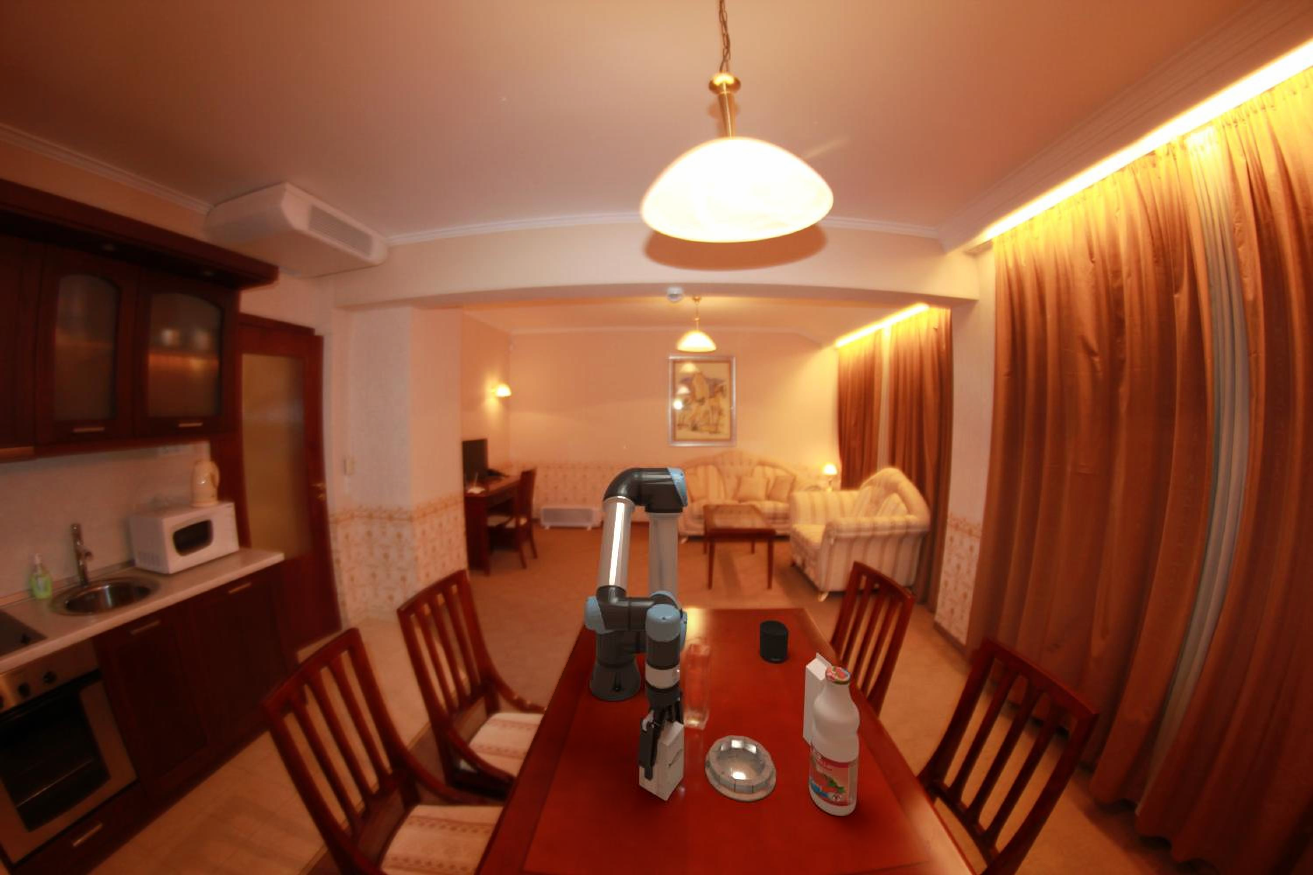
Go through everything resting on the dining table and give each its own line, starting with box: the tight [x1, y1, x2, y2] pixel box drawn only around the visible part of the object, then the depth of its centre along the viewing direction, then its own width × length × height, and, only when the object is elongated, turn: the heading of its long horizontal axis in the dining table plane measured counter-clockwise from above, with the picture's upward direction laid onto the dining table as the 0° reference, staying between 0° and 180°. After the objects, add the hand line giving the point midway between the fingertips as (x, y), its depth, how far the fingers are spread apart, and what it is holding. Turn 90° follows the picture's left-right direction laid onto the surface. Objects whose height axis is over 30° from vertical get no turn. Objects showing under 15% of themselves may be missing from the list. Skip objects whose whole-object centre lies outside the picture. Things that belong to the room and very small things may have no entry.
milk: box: [802, 652, 833, 747], centre depth 109 cm, size 6×6×22 cm
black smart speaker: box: [759, 619, 790, 664], centre depth 147 cm, size 9×9×10 cm
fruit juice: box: [808, 665, 860, 817], centre depth 94 cm, size 9×9×28 cm
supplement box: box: [638, 720, 685, 801], centre depth 98 cm, size 7×7×13 cm
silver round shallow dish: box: [704, 734, 777, 803], centre depth 101 cm, size 16×16×3 cm
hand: (661, 776), depth 98 cm, fingers closed on supplement box, 7 cm apart
